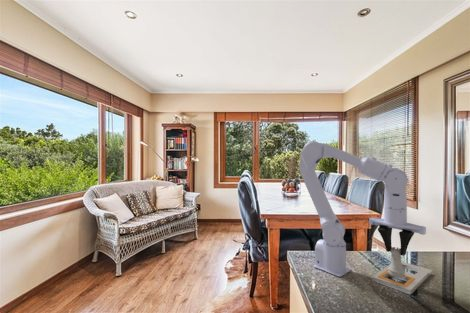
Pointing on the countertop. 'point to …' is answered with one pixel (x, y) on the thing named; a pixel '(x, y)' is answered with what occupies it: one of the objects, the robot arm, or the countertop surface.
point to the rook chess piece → (396, 264)
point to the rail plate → (411, 279)
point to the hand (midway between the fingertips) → (395, 252)
